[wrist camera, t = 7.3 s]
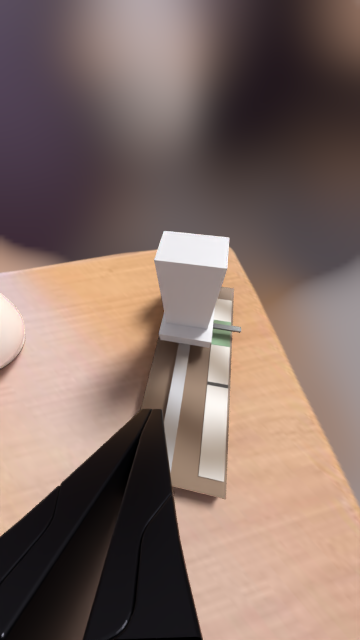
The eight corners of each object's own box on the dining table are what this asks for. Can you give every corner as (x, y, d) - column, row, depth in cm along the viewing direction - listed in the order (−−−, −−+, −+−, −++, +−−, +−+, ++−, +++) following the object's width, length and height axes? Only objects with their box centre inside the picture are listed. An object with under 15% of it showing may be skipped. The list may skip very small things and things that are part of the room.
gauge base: (221, 490, 14) (249, 550, 8) (129, 468, 15) (95, 509, 9) (230, 295, 23) (247, 257, 17) (173, 287, 24) (170, 249, 18)
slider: (239, 353, 17) (301, 297, 8) (160, 340, 17) (139, 276, 9) (240, 310, 19) (289, 230, 10) (170, 300, 20) (160, 218, 11)
